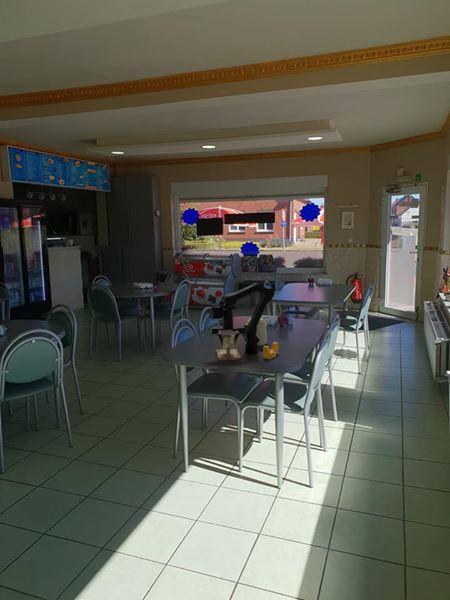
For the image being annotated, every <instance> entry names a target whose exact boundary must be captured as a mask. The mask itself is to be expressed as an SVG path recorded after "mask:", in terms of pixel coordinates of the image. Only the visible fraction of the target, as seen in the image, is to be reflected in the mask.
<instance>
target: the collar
mask: <svg viewBox="0 0 450 600" xmlns="http://www.w3.org/2000/svg"><path fill="white" fill-rule="evenodd" d="M222 342H223V346H222V345H221V347H222V349H227V348H230V349H236V348H235V345H236V343H235V338H234V335H233V334H222Z"/></svg>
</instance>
